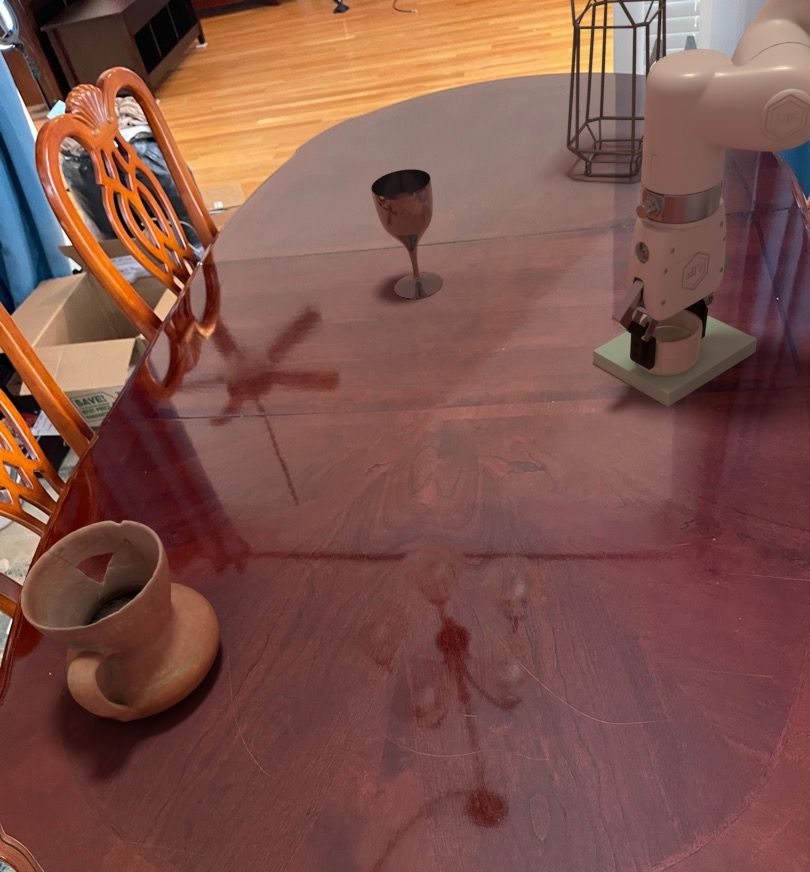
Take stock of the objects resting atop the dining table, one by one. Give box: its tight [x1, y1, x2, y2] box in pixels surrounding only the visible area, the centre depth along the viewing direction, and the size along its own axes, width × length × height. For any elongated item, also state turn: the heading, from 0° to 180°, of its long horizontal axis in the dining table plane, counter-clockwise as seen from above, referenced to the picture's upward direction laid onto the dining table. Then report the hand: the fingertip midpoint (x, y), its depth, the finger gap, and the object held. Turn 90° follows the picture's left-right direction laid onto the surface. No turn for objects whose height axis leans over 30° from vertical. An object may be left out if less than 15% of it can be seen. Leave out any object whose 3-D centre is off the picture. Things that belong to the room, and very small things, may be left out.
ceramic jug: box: [20, 519, 221, 722], centre depth 73 cm, size 18×14×14 cm
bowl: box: [639, 310, 702, 376], centre depth 92 cm, size 7×7×4 cm
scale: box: [592, 314, 758, 408], centre depth 96 cm, size 14×12×4 cm
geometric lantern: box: [566, 0, 667, 177], centre depth 120 cm, size 16×16×35 cm
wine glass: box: [370, 168, 444, 300], centre depth 112 cm, size 8×8×15 cm
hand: (667, 347), depth 93 cm, fingers closed on bowl, 7 cm apart
